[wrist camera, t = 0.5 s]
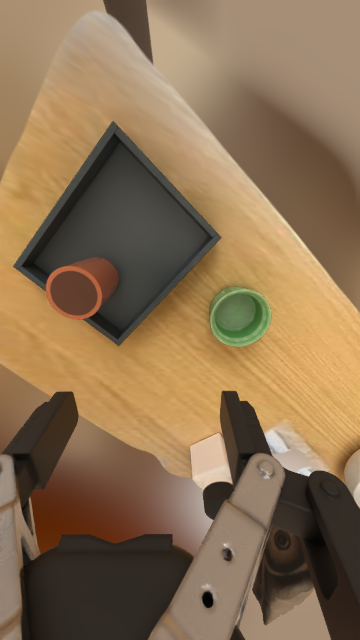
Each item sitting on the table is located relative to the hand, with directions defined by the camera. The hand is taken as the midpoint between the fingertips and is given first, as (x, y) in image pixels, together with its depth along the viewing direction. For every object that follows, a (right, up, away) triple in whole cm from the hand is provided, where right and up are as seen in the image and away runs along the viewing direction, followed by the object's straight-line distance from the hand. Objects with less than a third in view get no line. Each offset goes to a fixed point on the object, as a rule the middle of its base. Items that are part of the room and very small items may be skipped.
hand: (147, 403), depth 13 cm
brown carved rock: (+19, -32, +41) cm, 55 cm away
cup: (-11, +11, +22) cm, 27 cm away
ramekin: (+10, +6, +25) cm, 28 cm away
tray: (-7, +15, +21) cm, 27 cm away
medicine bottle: (+8, -23, +37) cm, 44 cm away
